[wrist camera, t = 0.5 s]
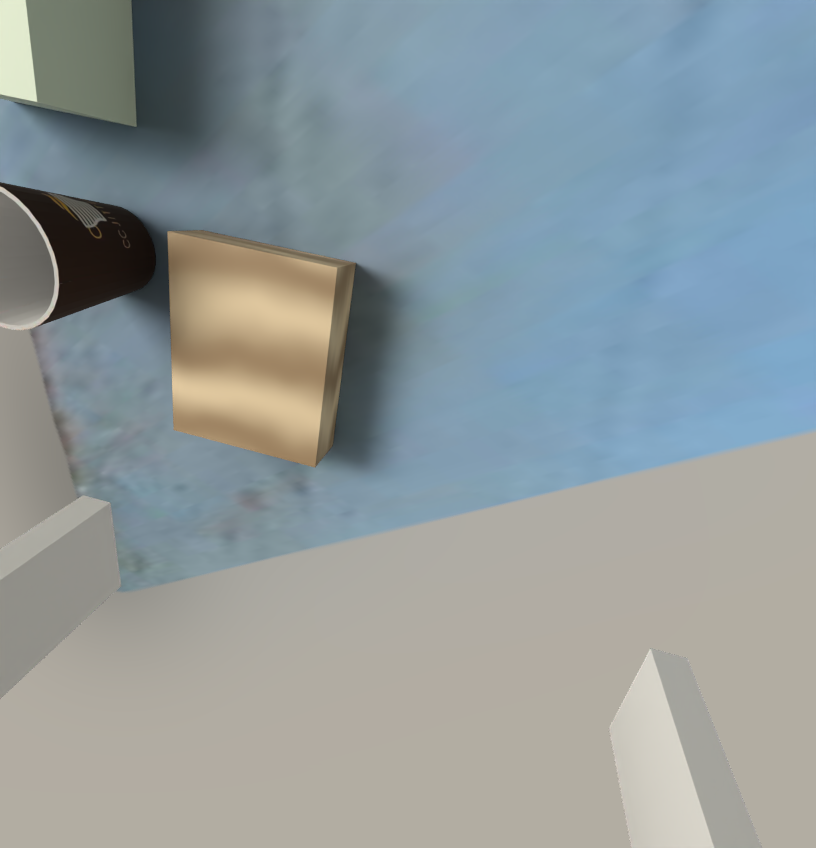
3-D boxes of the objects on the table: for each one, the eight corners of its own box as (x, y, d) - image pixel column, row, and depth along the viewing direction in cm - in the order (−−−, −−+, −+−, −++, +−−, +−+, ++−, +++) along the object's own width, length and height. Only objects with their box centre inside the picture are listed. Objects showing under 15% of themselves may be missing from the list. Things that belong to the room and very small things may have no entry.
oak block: (202, 230, 36) (167, 231, 32) (355, 262, 34) (337, 267, 31) (202, 412, 42) (173, 429, 38) (332, 445, 41) (315, 467, 37)
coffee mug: (188, 281, 38) (85, 300, 28) (110, 320, 40) (-6, 349, 31) (105, 124, 34) (-42, 89, 25) (26, 178, 37) (-131, 164, 28)
